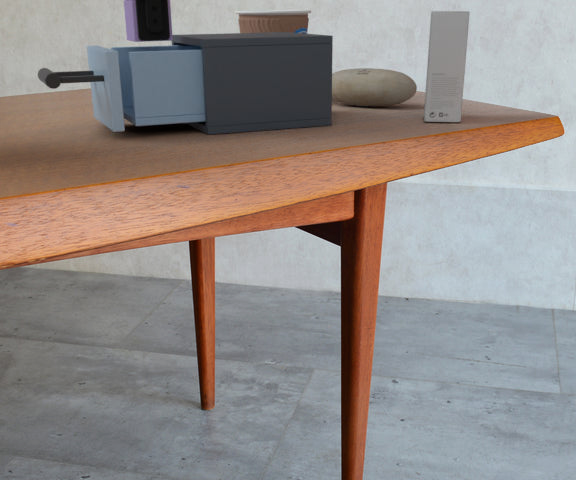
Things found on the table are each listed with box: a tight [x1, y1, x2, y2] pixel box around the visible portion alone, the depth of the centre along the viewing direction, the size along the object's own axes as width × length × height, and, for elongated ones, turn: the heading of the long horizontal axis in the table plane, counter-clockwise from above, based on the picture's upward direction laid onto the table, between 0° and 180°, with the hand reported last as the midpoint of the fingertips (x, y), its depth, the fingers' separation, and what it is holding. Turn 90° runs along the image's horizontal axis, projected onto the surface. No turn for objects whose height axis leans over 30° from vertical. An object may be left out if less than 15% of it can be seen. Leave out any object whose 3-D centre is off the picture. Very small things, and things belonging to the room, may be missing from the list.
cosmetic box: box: [423, 10, 470, 123], centre depth 85 cm, size 6×4×12 cm
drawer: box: [37, 44, 205, 133], centre depth 79 cm, size 19×11×8 cm, turn 114°
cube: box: [123, 0, 173, 43], centre depth 78 cm, size 4×4×4 cm
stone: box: [332, 67, 418, 107], centre depth 97 cm, size 6×6×12 cm
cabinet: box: [171, 32, 334, 136], centre depth 84 cm, size 15×13×10 cm
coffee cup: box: [235, 9, 312, 34], centre depth 102 cm, size 10×10×12 cm
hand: (148, 37), depth 78 cm, fingers closed on cube, 4 cm apart
